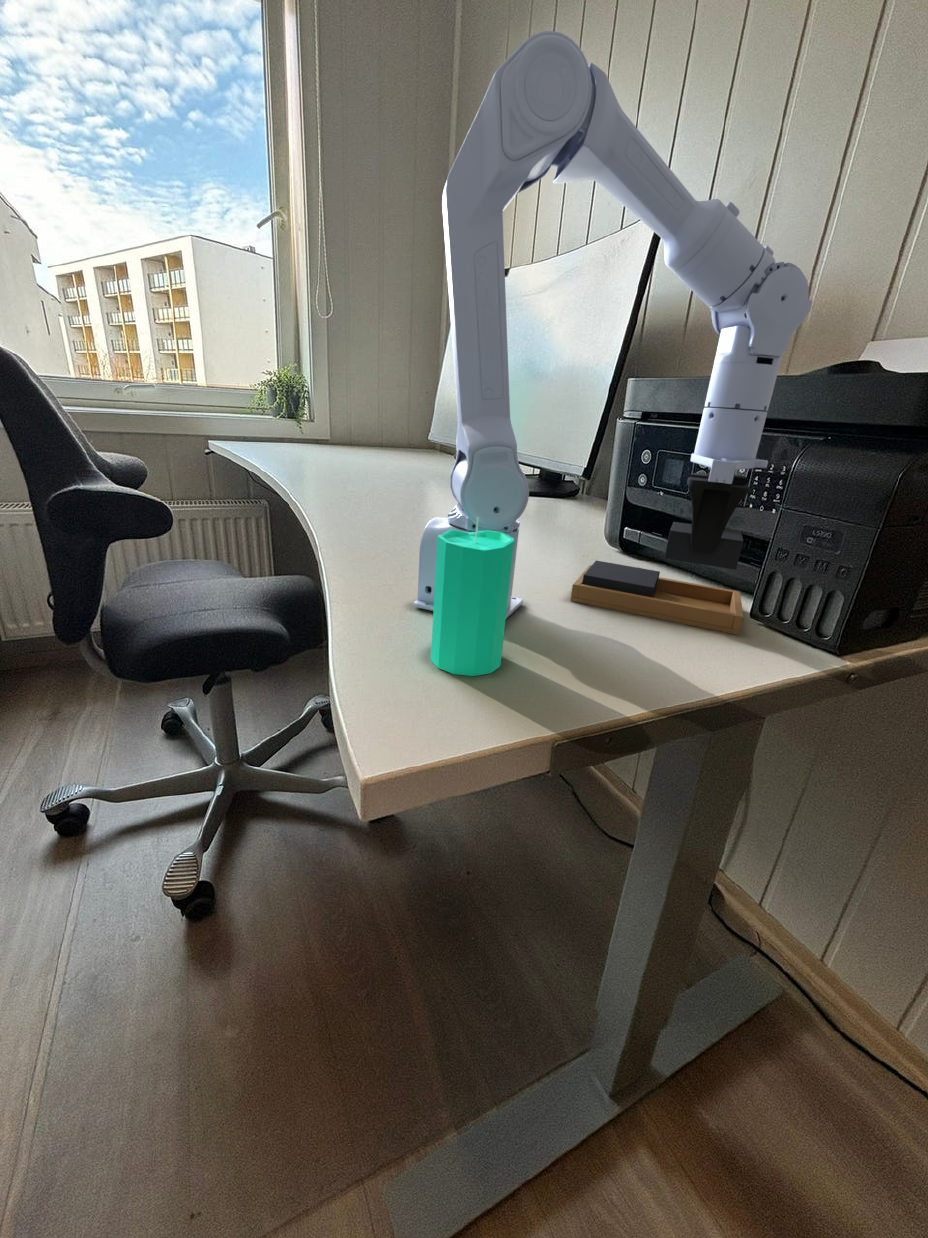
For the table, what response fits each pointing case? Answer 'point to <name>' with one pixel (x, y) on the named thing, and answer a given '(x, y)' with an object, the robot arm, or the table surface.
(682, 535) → the pad
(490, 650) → the candle
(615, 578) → the pad
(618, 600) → the frame
